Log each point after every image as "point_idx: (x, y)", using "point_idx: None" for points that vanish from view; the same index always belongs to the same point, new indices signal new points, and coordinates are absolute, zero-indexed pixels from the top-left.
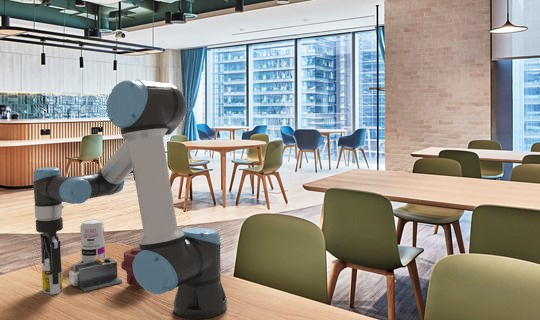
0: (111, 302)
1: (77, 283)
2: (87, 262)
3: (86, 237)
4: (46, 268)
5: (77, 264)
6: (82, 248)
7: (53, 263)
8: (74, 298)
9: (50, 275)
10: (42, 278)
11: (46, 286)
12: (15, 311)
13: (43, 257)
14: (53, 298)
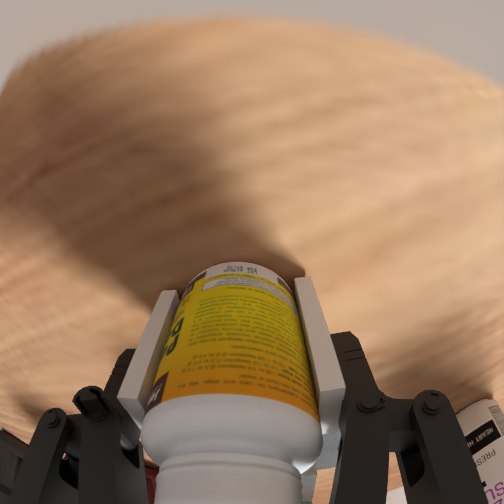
0: (47, 408)
1: None
2: (304, 495)
3: (490, 489)
4: (156, 430)
5: (304, 481)
6: (495, 441)
7: (22, 482)
8: (91, 358)
9: (120, 391)
10: (229, 321)
11: (185, 302)
12: (24, 102)
13: (428, 461)
14: (114, 292)
